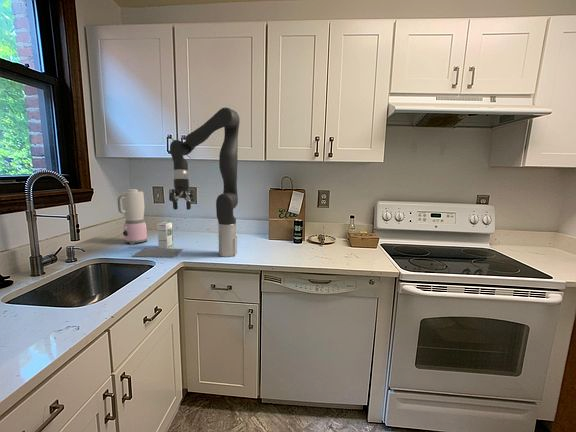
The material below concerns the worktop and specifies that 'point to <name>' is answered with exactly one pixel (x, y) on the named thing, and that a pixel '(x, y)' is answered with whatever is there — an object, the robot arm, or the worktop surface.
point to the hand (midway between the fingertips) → (182, 209)
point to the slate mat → (157, 252)
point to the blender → (133, 216)
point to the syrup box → (165, 235)
